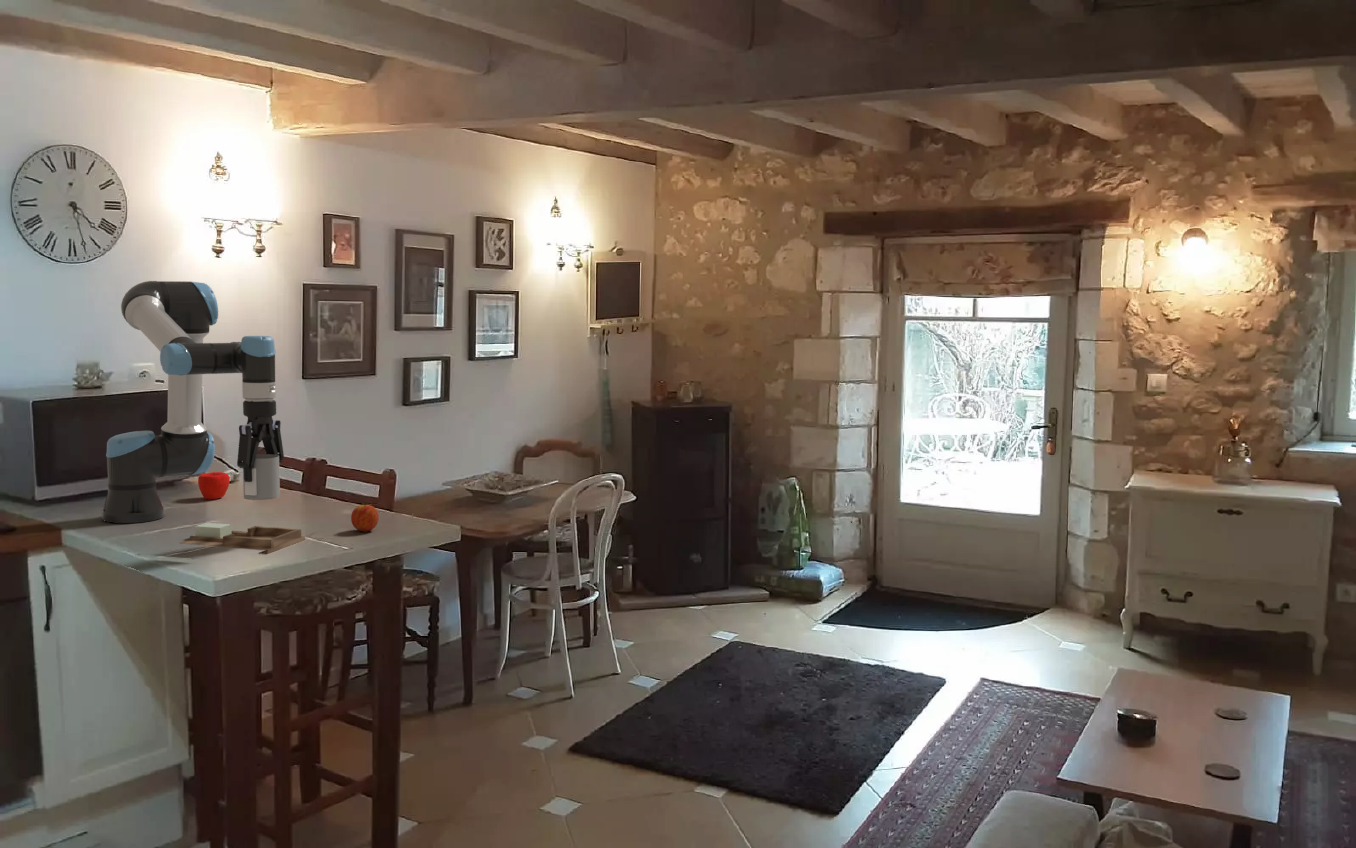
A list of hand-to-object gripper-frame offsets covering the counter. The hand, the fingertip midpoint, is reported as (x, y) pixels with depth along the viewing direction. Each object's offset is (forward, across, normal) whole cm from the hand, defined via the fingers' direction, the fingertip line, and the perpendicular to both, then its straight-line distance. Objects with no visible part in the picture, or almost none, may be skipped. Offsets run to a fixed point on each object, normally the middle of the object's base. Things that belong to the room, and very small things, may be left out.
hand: (261, 491), depth 266 cm
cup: (+2, 0, 0) cm, 2 cm away
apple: (+13, +50, +50) cm, 72 cm away
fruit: (+14, +22, -15) cm, 30 cm away
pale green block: (+12, 0, +14) cm, 19 cm away
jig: (+13, 0, +6) cm, 14 cm away
